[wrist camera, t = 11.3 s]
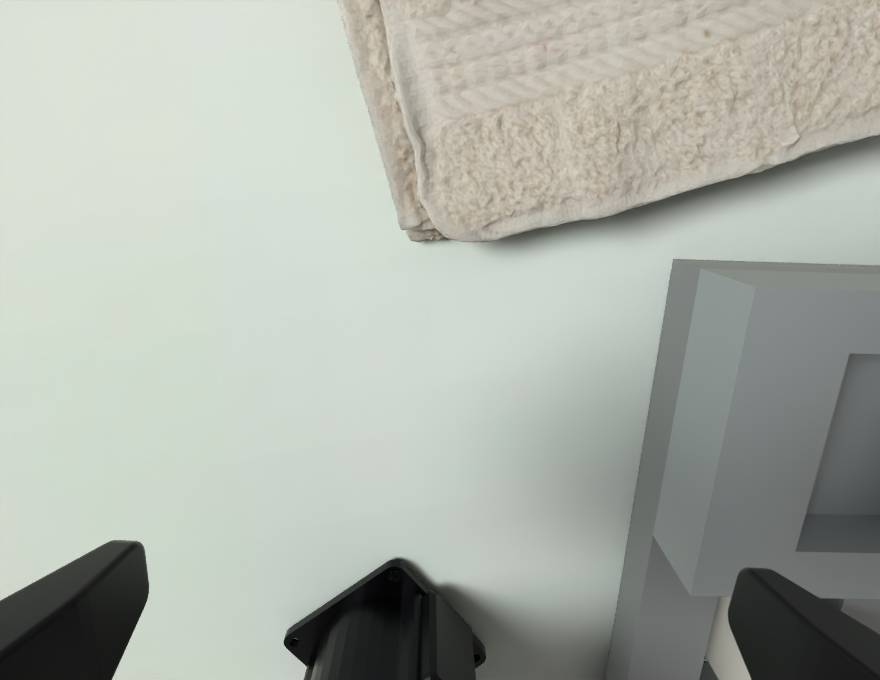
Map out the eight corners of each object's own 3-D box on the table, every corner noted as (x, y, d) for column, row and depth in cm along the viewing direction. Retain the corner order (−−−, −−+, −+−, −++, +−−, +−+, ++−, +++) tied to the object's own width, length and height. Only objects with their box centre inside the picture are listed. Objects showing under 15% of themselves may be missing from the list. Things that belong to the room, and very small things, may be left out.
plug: (763, 643, 24) (899, 834, 17) (698, 643, 24) (807, 834, 17) (784, 560, 23) (941, 731, 16) (715, 560, 23) (841, 730, 16)
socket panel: (835, 693, 25) (931, 815, 20) (603, 690, 25) (644, 813, 20) (976, 268, 19) (1158, 299, 14) (673, 259, 19) (755, 287, 14)
